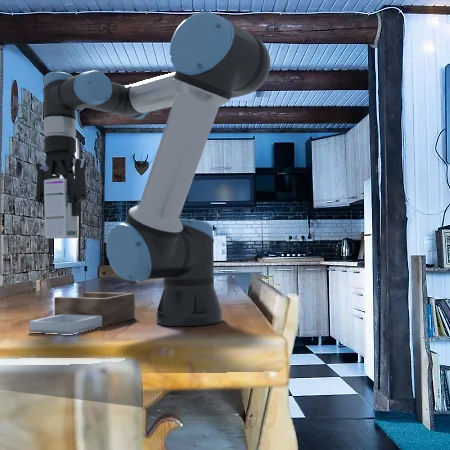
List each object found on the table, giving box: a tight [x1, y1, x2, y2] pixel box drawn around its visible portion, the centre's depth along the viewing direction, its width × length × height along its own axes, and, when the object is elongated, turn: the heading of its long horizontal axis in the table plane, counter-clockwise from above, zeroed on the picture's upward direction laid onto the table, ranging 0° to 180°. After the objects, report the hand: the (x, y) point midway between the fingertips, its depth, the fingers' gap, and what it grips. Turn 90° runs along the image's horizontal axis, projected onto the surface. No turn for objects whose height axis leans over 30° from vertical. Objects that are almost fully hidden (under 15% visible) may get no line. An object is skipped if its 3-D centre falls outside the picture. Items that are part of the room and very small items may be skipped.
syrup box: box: [44, 177, 79, 239], centre depth 123 cm, size 6×6×14 cm
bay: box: [53, 291, 136, 326], centre depth 119 cm, size 14×12×6 cm
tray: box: [28, 314, 103, 334], centre depth 106 cm, size 10×10×2 cm
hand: (61, 230), depth 122 cm, fingers closed on syrup box, 6 cm apart
